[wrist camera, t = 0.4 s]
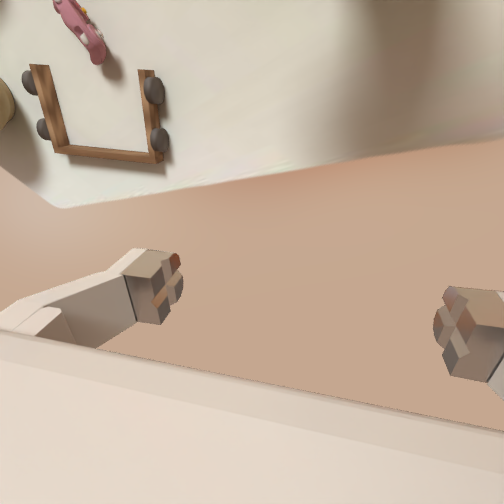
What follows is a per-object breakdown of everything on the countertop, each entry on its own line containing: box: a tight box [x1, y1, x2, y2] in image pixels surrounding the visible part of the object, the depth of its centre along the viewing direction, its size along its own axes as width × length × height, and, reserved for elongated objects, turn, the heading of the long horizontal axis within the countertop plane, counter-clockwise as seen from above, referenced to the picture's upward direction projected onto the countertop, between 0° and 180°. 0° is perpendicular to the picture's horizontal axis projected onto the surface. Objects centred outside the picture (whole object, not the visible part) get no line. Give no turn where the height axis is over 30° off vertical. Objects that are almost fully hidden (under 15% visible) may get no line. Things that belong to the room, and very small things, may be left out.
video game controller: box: [53, 0, 106, 65], centre depth 46 cm, size 10×5×7 cm, turn 32°
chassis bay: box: [22, 64, 169, 164], centre depth 54 cm, size 15×26×4 cm, turn 87°
